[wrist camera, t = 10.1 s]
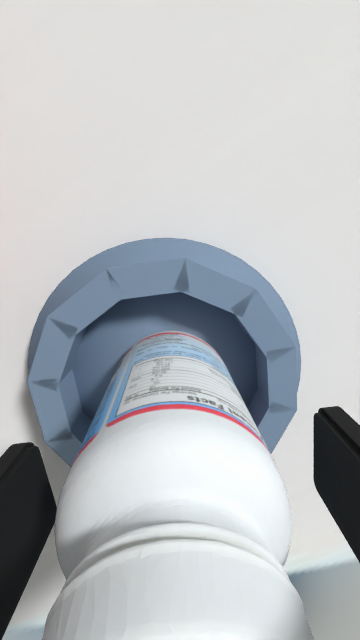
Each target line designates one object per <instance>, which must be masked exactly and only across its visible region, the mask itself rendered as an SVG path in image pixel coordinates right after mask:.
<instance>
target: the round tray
mask: <svg viewBox="0 0 360 640" xmlns="http://www.w3.org/2000/svg"><path fill="white" fill-rule="evenodd" d="M162 331H181V332H185V333H189V334H191V335H194V336H196V337H198V338H200V339H202V340H203V341H205V342H206V343H207V344H209V345H210V346H211V347H212V348H213V349H214V350H215V351H216V352H217V353H218V355H219V356H220V357H221V359H222V361H223V362H224V364H225V366H226V368H227V370H228V372H229V374H230V376H231V378H232V380H233V382H234V384H235V386H236V388H237V390H238V391H239V394H240V395H241V397H242V399H243V401H244V403H245V405H246V407H247V409H248V411H249V413H250V415H251V417H252V419H253V421H254V423H255V425H256V427H257V429H258V430H259V432H260V434H261V436H262V438H263V440H264V442H265V444H266V446H267V448H268V450H269V452H270V454H271V453H272V452H273V450H274V448H275V447H276V445H277V443H278V441H279V440H280V438H281V436H282V435H283V433H284V431H285V430H286V428H287V426H288V424H289V423H290V421H291V419H292V418H293V416H294V414H295V413H296V411H297V391H298V386H299V381H300V370H301V356H300V345H299V340H298V336H297V332H296V328H295V325H294V323H293V320H292V318H291V315H290V313H289V311H288V309H287V307H286V306H285V304H284V302H283V300H282V298H281V297H280V296H279V294H278V293H277V292H276V291H275V289H274V288H273V287H272V285H271V284H270V283H269V282H268V281H267V280H266V279H265V278H264V277H263V276H262V275H261V274H260V273H259V272H258V271H257V270H255V269H254V268H252V267H251V266H250V265H248V264H247V263H246V262H244V261H243V260H242V259H240V258H238V257H236V256H234V255H232V254H230V253H228V252H226V251H225V250H222V249H219V248H216V247H214V246H211V245H208V244H205V243H201V242H196V241H192V240H187V239H175V238H155V239H144V240H139V241H134V242H129V243H125V244H122V245H119V246H116V247H113V248H110V249H107V250H105V251H103V252H102V253H100V254H98V255H96V256H94V257H92V258H90V259H88V260H87V261H86V262H84V263H83V264H81V265H80V266H79V267H77V268H76V269H74V270H73V271H72V272H71V273H70V274H69V275H68V276H67V277H66V278H65V279H64V280H63V281H62V282H60V284H59V285H58V286H57V287H56V289H55V290H54V291H53V293H52V294H51V295H50V296H49V298H48V299H47V301H46V303H45V305H44V306H43V308H42V310H41V312H40V313H39V316H38V319H37V321H36V324H35V326H34V329H33V333H32V337H31V342H30V346H29V359H28V368H29V377H28V380H27V383H28V387H29V390H30V393H31V397H32V400H33V403H34V407H35V410H36V413H37V417H38V420H39V423H40V427H41V430H42V433H43V437H44V440H45V443H46V444H47V445H48V446H49V447H50V448H51V449H52V450H53V451H54V452H56V453H57V454H58V455H59V456H60V457H61V458H62V459H63V460H64V461H65V462H66V463H67V464H68V465H69V466H72V465H73V462H74V460H75V458H76V456H77V454H78V452H79V449H80V447H81V445H82V443H83V441H84V438H85V436H86V434H87V432H88V430H89V428H90V425H91V423H92V421H93V419H94V417H95V414H96V412H97V410H98V408H99V406H100V403H101V401H102V399H103V397H104V395H105V393H106V390H107V388H108V386H109V384H110V382H111V379H112V377H113V375H114V373H115V371H116V369H117V367H118V364H119V363H120V361H121V359H122V357H123V356H124V354H125V353H126V352H127V351H128V349H129V348H130V347H132V346H133V345H134V344H135V343H136V342H138V341H139V340H141V339H142V338H144V337H146V336H148V335H151V334H154V333H157V332H162Z"/></svg>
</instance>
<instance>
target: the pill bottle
mask: <svg viewBox="0 0 360 640" xmlns="http://www.w3.org/2000/svg"><path fill="white" fill-rule="evenodd" d="M291 532H292V518H291V508H290V502H289V498H288V493H287V490H286V487H285V484H284V481H283V479H282V477H281V475H280V472H279V470H278V468H277V466H276V463H275V461H274V459H273V458H272V456H271V454H270V452H269V450H268V448H267V446H266V444H265V442H264V440H263V438H262V436H261V434H260V432H259V430H258V429H257V427H256V425H255V423H254V421H253V419H252V417H251V415H250V413H249V411H248V409H247V407H246V405H245V403H244V401H243V399H242V397H241V395H240V394H239V391H238V390H237V388H236V386H235V384H234V382H233V380H232V378H231V376H230V374H229V372H228V370H227V368H226V366H225V364H224V362H223V361H222V359H221V357H220V356H219V355H218V353H217V352H216V351H215V350H214V349H213V348H212V347H211V346H210V345H209V344H207V343H206V342H205V341H203V340H202V339H200V338H198V337H196V336H194V335H191V334H189V333H185V332H181V331H162V332H157V333H154V334H151V335H148V336H146V337H144V338H142V339H141V340H139V341H138V342H136V343H135V344H134V345H133V346H132V347H130V348H129V349H128V351H127V352H126V353H125V354H124V356H123V357H122V359H121V361H120V363H119V364H118V367H117V369H116V371H115V373H114V375H113V377H112V379H111V382H110V384H109V386H108V388H107V390H106V393H105V395H104V397H103V399H102V401H101V403H100V406H99V408H98V410H97V412H96V414H95V417H94V419H93V421H92V423H91V425H90V428H89V430H88V432H87V434H86V436H85V438H84V441H83V443H82V445H81V447H80V449H79V452H78V454H77V456H76V458H75V460H74V462H73V465H72V466H71V469H70V471H69V474H68V476H67V479H66V481H65V483H64V485H63V488H62V491H61V494H60V497H59V502H58V506H57V511H56V519H55V543H56V550H57V556H58V559H59V563H60V566H61V569H62V571H63V574H64V576H65V578H66V580H67V581H66V583H65V584H64V587H63V589H62V591H61V593H60V595H59V597H58V598H57V600H56V602H55V603H54V605H53V606H52V608H51V610H50V612H49V614H48V617H47V620H46V624H45V629H44V634H43V637H42V640H314V638H313V636H312V633H311V630H310V627H309V625H308V622H307V619H306V613H305V609H304V606H303V603H302V601H301V599H300V597H299V594H298V593H297V591H296V590H295V588H294V587H293V585H292V584H291V582H290V580H289V578H288V576H287V573H286V571H285V570H284V568H283V566H284V564H285V561H286V558H287V555H288V551H289V547H290V542H291Z"/></svg>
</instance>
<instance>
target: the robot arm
mask: <svg viewBox="0 0 360 640" xmlns="http://www.w3.org/2000/svg"><path fill="white" fill-rule="evenodd" d="M314 483H315V487H316V489H317V491H318V493H319V495H320V496H321V498H322V500H323V502H324V503H325V505H326V507H327V508H328V510H329V512H330V513H331V515H332V517H333V518H334V520H335V522H336V523H337V525H338V527H339V528H340V530H341V532H342V534H343V535H344V537H345V539H346V540H347V542H348V544H349V545H350V547H351V549H352V550H353V552H354V554H355V555H356V557H357V559H358V560H359V562H360V425H359V424H358V423H357V422H355V421H354V420H353V419H352V418H351V417H350V416H349V415H348V414H347V413H346V412H345V411H344V410H343V409H342V408H340V407H338V406H334V407H326V408H320V409H319V411H318V413H316V414H314ZM56 511H57V506H56V503H55V500H54V496H53V493H52V490H51V487H50V483H49V480H48V477H47V474H46V470H45V467H44V464H43V460H42V457H41V454H40V451H39V448H38V447H37V446H34V444H33V443H31V442H28V443H19V444H13V445H11V446H10V447H9V448H8V449H7V450H6V452H5V453H4V454H3V455H2V456H1V457H0V640H2V637H3V635H4V633H5V631H6V629H7V626H8V624H9V622H10V620H11V618H12V615H13V613H14V611H15V609H16V607H17V604H18V602H19V600H20V598H21V596H22V593H23V591H24V589H25V587H26V585H27V582H28V580H29V578H30V576H31V574H32V571H33V569H34V567H35V565H36V563H37V560H38V558H39V556H40V554H41V552H42V549H43V547H44V545H45V543H46V540H47V538H48V536H49V534H50V532H51V529H52V527H53V525H54V523H55V519H56Z"/></svg>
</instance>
